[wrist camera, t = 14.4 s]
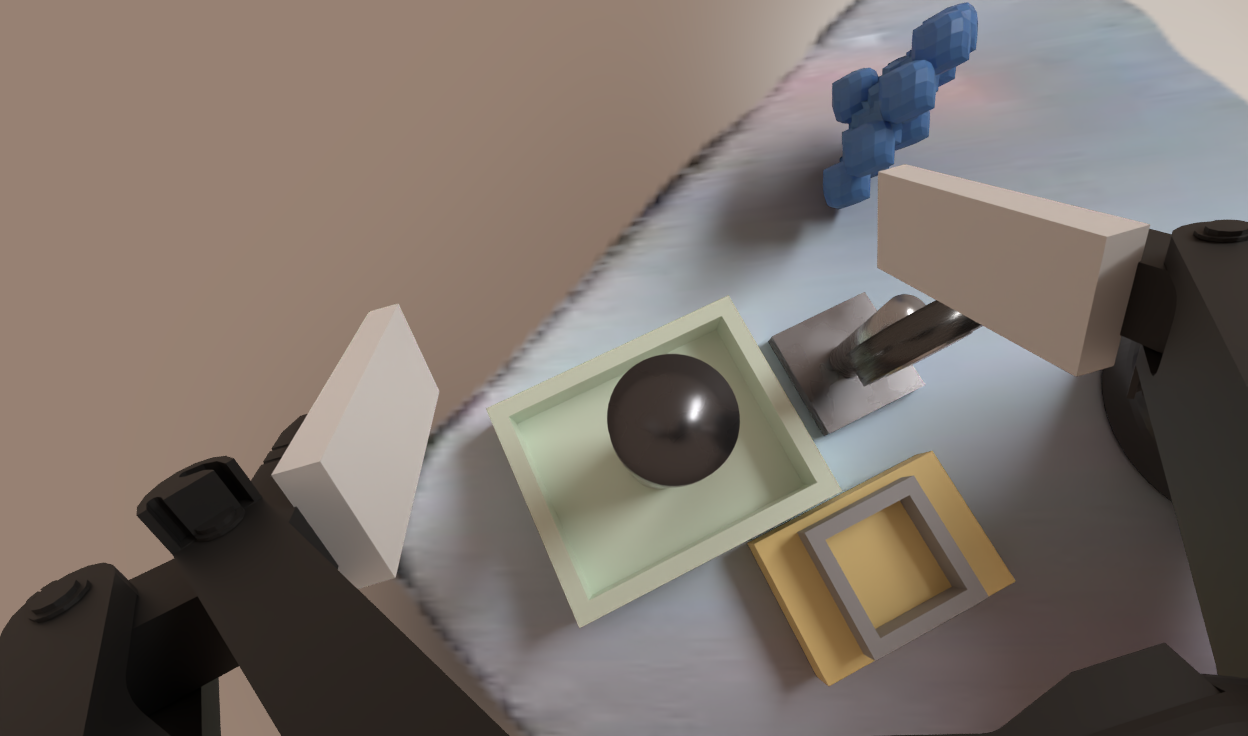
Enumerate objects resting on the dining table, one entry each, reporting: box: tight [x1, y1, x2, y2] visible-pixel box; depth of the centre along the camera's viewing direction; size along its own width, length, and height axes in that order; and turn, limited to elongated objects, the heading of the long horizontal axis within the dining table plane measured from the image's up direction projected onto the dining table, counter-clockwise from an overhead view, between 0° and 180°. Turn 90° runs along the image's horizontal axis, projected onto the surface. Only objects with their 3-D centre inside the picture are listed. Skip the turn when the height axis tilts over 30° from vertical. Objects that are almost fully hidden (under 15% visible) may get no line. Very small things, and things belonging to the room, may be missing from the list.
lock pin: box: [607, 354, 740, 489], centre depth 28 cm, size 5×5×13 cm
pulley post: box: [768, 292, 983, 436], centre depth 31 cm, size 7×7×12 cm
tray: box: [486, 295, 842, 628], centre depth 33 cm, size 16×13×4 cm
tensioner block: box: [747, 451, 1015, 686], centre depth 31 cm, size 12×8×4 cm, turn 116°
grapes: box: [823, 3, 978, 209], centre depth 35 cm, size 12×7×12 cm, turn 143°
